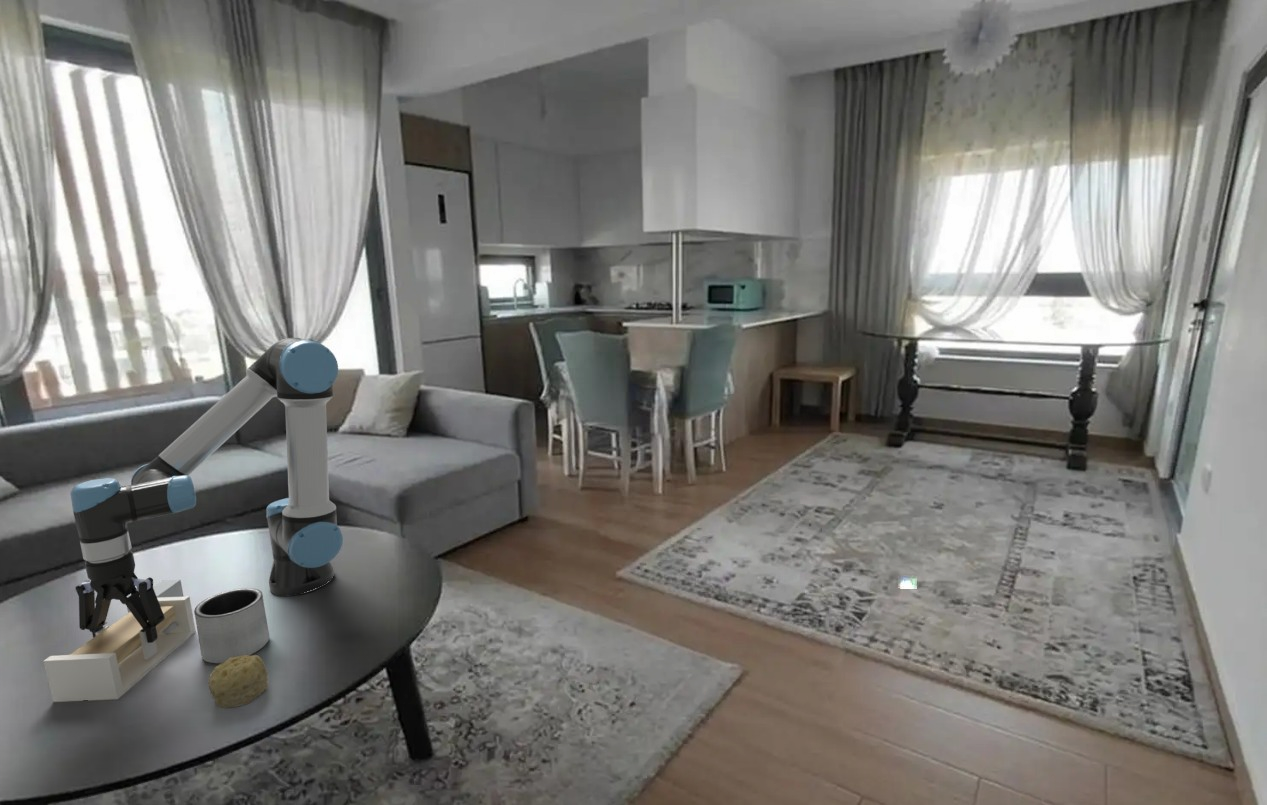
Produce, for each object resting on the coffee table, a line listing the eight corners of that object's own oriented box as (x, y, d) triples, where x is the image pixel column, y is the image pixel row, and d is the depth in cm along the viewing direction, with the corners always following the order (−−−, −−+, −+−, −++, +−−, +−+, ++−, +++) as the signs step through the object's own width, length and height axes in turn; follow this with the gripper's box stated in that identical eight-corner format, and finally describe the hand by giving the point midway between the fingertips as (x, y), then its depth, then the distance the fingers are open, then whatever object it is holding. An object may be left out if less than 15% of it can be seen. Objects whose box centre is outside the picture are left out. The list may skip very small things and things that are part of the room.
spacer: (183, 597, 158) (180, 579, 157) (149, 623, 146) (146, 604, 145) (166, 598, 158) (162, 580, 157) (130, 624, 146) (126, 605, 145)
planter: (197, 673, 127) (188, 623, 125) (206, 642, 138) (198, 596, 136) (268, 655, 133) (261, 607, 130) (271, 626, 144) (264, 582, 141)
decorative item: (251, 695, 125) (213, 663, 123) (288, 666, 125) (250, 633, 123) (226, 729, 116) (184, 695, 114) (265, 698, 116) (224, 663, 113)
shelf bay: (195, 631, 142) (189, 596, 141) (117, 699, 120) (108, 657, 118) (141, 633, 142) (134, 598, 140) (53, 702, 119) (43, 660, 117)
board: (175, 618, 139) (173, 606, 138) (112, 668, 121) (110, 654, 120) (138, 619, 138) (136, 607, 138) (70, 670, 121) (67, 656, 120)
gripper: (174, 545, 130) (192, 643, 134) (71, 549, 129) (92, 648, 134) (148, 561, 123) (168, 665, 127) (38, 566, 122) (63, 670, 126)
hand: (129, 656), depth 130 cm, fingers closed on board, 8 cm apart
